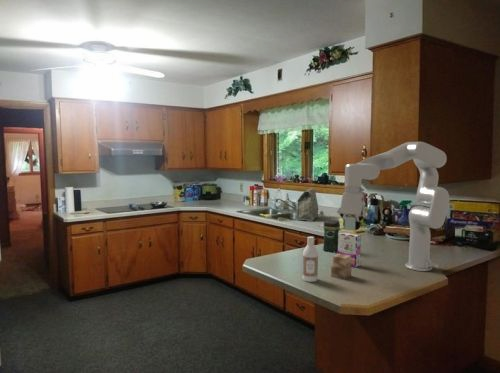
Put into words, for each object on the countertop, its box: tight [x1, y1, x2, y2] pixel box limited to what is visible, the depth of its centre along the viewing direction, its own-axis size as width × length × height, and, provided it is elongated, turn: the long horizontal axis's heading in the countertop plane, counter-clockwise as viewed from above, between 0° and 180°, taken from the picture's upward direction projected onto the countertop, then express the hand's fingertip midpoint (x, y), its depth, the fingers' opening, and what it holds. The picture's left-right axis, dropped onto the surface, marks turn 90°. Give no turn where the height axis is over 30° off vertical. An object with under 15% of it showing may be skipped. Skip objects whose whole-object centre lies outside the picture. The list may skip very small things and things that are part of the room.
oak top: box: [332, 253, 351, 269], centre depth 175 cm, size 6×6×5 cm
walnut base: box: [330, 265, 352, 280], centre depth 175 cm, size 7×7×5 cm
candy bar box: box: [337, 231, 362, 268], centre depth 193 cm, size 11×5×16 cm, turn 44°
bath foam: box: [301, 236, 319, 283], centre depth 169 cm, size 7×7×20 cm
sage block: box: [343, 215, 357, 232], centre depth 173 cm, size 5×5×6 cm
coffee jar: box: [322, 219, 341, 253], centre depth 221 cm, size 10×8×19 cm
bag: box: [296, 187, 319, 222], centre depth 328 cm, size 22×16×27 cm
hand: (351, 228), depth 174 cm, fingers closed on sage block, 5 cm apart
